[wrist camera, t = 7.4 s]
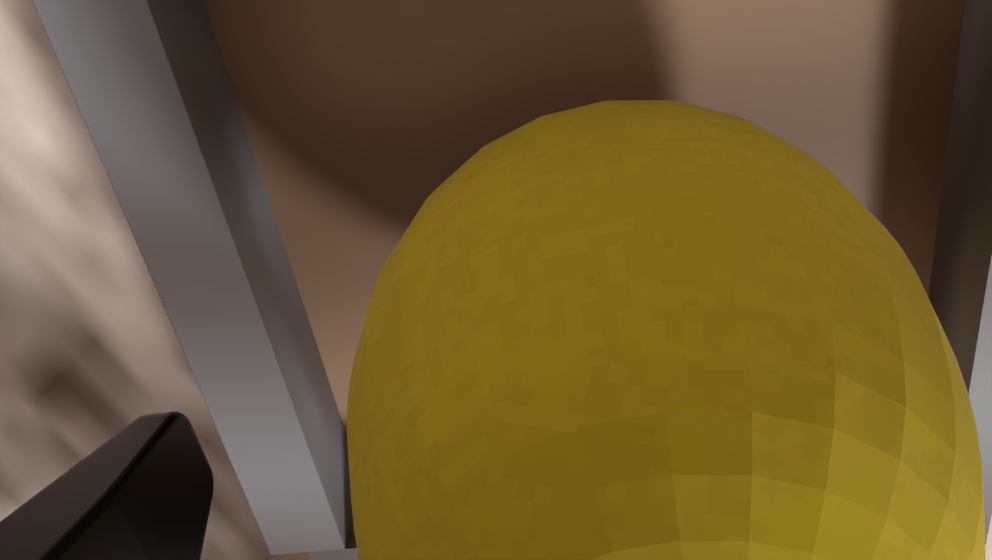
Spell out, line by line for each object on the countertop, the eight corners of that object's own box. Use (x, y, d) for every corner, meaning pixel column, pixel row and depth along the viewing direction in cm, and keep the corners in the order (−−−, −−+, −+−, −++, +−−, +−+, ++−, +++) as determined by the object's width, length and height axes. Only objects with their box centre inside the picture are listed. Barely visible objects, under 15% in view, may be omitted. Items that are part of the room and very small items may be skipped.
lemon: (322, 139, 11) (27, 735, 5) (719, -83, 10) (1156, 334, 3) (523, 419, 14) (523, 1071, 7) (865, 280, 12) (1282, 946, 6)
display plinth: (950, 391, 17) (1072, 579, 13) (316, 453, 18) (260, 638, 15) (1077, -450, 10) (1400, -565, 6) (63, -252, 12) (-161, -250, 8)
